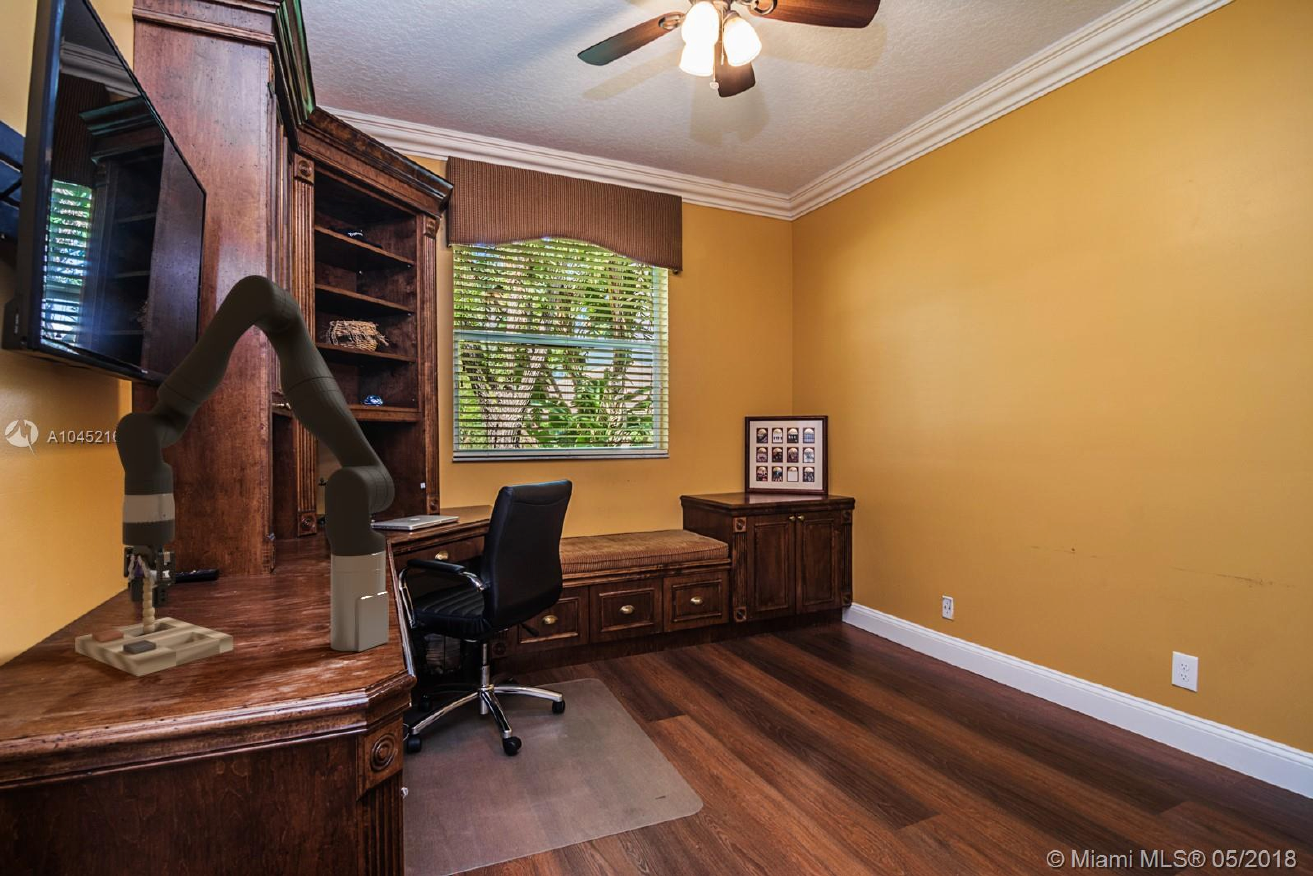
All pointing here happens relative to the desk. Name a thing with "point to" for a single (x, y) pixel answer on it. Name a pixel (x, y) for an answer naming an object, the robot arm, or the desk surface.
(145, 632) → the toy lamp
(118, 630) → the socket board
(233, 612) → the desk surface
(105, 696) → the desk surface
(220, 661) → the desk surface
